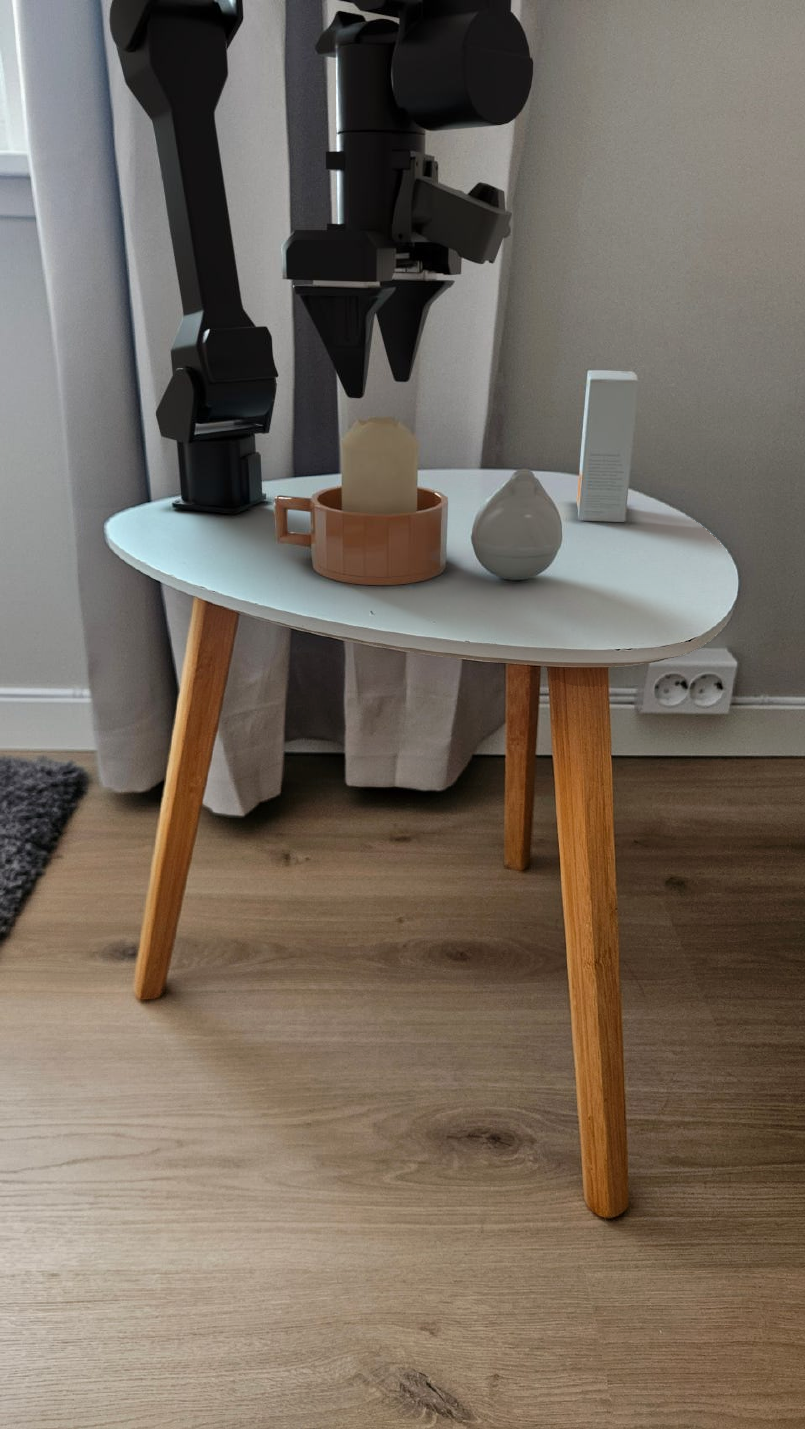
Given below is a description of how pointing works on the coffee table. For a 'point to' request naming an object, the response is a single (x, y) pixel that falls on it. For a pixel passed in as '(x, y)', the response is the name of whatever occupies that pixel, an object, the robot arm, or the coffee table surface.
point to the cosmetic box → (607, 445)
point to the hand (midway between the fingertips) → (379, 389)
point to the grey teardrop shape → (517, 529)
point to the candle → (379, 467)
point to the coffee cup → (369, 538)
